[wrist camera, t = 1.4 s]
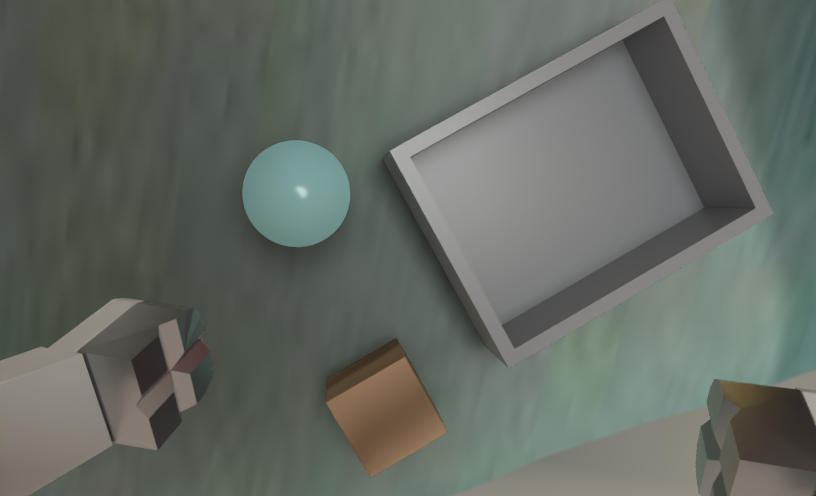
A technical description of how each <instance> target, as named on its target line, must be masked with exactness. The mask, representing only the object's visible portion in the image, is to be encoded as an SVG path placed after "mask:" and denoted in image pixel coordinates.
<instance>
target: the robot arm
mask: <svg viewBox="0 0 816 496" xmlns="http://www.w3.org/2000/svg"><path fill="white" fill-rule="evenodd" d="M205 331H206V329H205V325H204V321H203V317H202V314H201V313H200V312H198V311H197V310H195V309H194V308H188V307H181V306H175V305H169V304H162V303H156V302H150V301H142V300H135V299H128V298H118V299H112V300H111V301H110V302H108V303H107V304H106V305H104V306H103V307H102V308H100V309H99V310H98V311H96V312H95V313H94V314H92V315H91V316H90V317H88V318H87V319H86V320H84V321H83V322H82V323H81V324H79V325H78V326H77V327H75V328H74V329H73V330H71V331H70V332H69V333H67V334H66V335H65V336H63V337H62V338H61V339H59V340H58V341H57V342H55V343H54V344H53V345H51V346H50V347H49V348H45V347H39V348H36V349H33V350H30V351H27V352H24V353H21V354H18V355H15V356H12V357H10V358H7V359H4V360H1V361H0V496H29V495H30V494H32V493H34V492H35V491H37V490H39V489H40V488H42V487H44V486H45V485H47V484H49V483H50V482H52V481H54V480H55V479H57V478H59V477H60V476H62V475H64V474H65V473H67V472H69V471H71V470H72V469H74V468H76V467H77V466H79V465H81V464H82V463H84V462H86V461H87V460H89V459H91V458H92V457H94V456H96V455H97V454H99V453H101V452H102V451H104V450H106V449H107V448H109V447H111V446H112V445H113V443H117V444H123V445H129V446H135V447H141V448H147V449H153V450H158V449H159V448H160V447H161V446H162V445H163V444H164V442H165V441H166V440H167V439H168V438H169V437H170V435H171V434H172V433H173V432H174V431H175V430H176V428H177V427H178V426H179V425H180V424H181V422H182V413H181V412H182V411H184V410H186V409H188V408H190V407H192V406H194V405H196V404H197V403H198V402H199V401H200V400H201V398H202V397H203V396H204V395H205V393H206V392H207V390H208V387H209V384H210V382H211V379H212V375H213V361H212V356H211V351H210V350H209V349H208V348H207V346H206V345H205V344H204V343H203V342H202V341H201V338H202V336H203V334H204V332H205ZM707 405H708V410H709V415H710V420H709V421H708V422H706V423H705V424H703V425H702V426H701V428H700V433H699V438H698V443H697V453H696V477H697V485H698V491H699V494H700V495H701V496H816V390H810V389H800V388H795V389H790V388H781V387H774V386H767V385H759V384H751V383H743V382H735V381H727V380H720V379H714V381H713V383H712V385H711V387H710V391H709V395H708V399H707Z"/></svg>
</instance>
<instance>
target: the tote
mask: <svg viewBox="0 0 816 496" xmlns="http://www.w3.org/2000/svg"><path fill="white" fill-rule="evenodd" d="M382 159H383V161H384V163H385V164H386V166H387V168H388V170H389V172H390V174H391V175H392V177H393V179H394V181H395V183H396V184H397V186H398V188H399V190H400V192H401V194H402V195H403V197H404V199H405V201H406V203H407V204H408V206H409V208H410V210H411V212H412V214H413V215H414V217H415V219H416V221H417V223H418V224H419V226H420V228H421V230H422V232H423V234H424V235H425V237H426V239H427V241H428V243H429V244H430V246H431V248H432V250H433V252H434V254H435V255H436V257H437V259H438V261H439V263H440V264H441V266H442V268H443V270H444V272H445V274H446V275H447V277H448V279H449V281H450V283H451V284H452V286H453V288H454V290H455V292H456V294H457V295H458V297H459V299H460V301H461V303H462V304H463V306H464V308H465V310H466V312H467V314H468V315H469V317H470V319H471V321H472V323H473V324H474V326H475V328H476V330H477V332H478V334H479V335H480V337H481V339H482V341H483V343H484V344H485V346H486V347H487V348H488V349H489V350H490V351H491V352H492V353H493V354H494V355H495V356H496V357H497V358H498V359H500V360H501V361H502V362H503V363H504V364H505V365H506V366H507V367H508V368H511V367H512V366H514V365H516V364H517V363H519V362H521V361H523V360H524V359H526V358H528V357H529V356H531V355H533V354H534V353H536V352H538V351H540V350H541V349H543V348H545V347H546V346H548V345H550V344H552V343H553V342H555V341H557V340H558V339H560V338H562V337H564V336H565V335H567V334H569V333H570V332H572V331H574V330H575V329H577V328H579V327H581V326H582V325H584V324H586V323H587V322H589V321H591V320H593V319H594V318H596V317H598V316H599V315H601V314H603V313H605V312H606V311H608V310H610V309H611V308H613V307H615V306H616V305H618V304H620V303H622V302H623V301H625V300H627V299H628V298H630V297H632V296H634V295H635V294H637V293H639V292H640V291H642V290H644V289H646V288H647V287H649V286H651V285H652V284H654V283H656V282H657V281H659V280H661V279H663V278H664V277H666V276H668V275H669V274H671V273H673V272H675V271H676V270H678V269H680V268H681V267H683V266H685V265H687V264H688V263H690V262H692V261H693V260H695V259H697V258H698V257H700V256H702V255H704V254H705V253H707V252H709V251H710V250H712V249H714V248H716V247H717V246H719V245H721V244H722V243H724V242H726V241H727V240H729V239H731V238H733V237H734V236H736V235H738V234H739V233H741V232H743V231H745V230H746V229H748V228H750V227H751V226H753V225H755V224H757V223H758V222H760V221H762V220H763V219H765V218H767V217H768V216H770V215H772V214H773V212H772V210H771V207H770V205H769V203H768V201H767V199H766V197H765V195H764V193H763V191H762V189H761V186H760V184H759V182H758V180H757V178H756V176H755V174H754V172H753V170H752V167H751V165H750V163H749V161H748V159H747V157H746V155H745V153H744V151H743V149H742V146H741V144H740V142H739V140H738V138H737V136H736V134H735V132H734V130H733V127H732V125H731V123H730V121H729V119H728V117H727V115H726V113H725V111H724V109H723V106H722V104H721V102H720V100H719V98H718V96H717V94H716V92H715V90H714V87H713V85H712V83H711V81H710V79H709V77H708V75H707V73H706V71H705V69H704V66H703V64H702V62H701V60H700V58H699V56H698V54H697V52H696V50H695V47H694V45H693V43H692V41H691V39H690V37H689V35H688V33H687V31H686V29H685V26H684V24H683V22H682V20H681V18H680V16H679V14H678V12H677V10H676V7H675V5H674V3H673V1H672V0H662V1H660V2H658V3H656V4H654V5H653V6H651V7H649V8H647V9H645V10H644V11H642V12H640V13H638V14H636V15H635V16H633V17H631V18H629V19H627V20H625V21H624V22H622V23H620V24H618V25H616V26H615V27H613V28H611V29H609V30H607V31H606V32H604V33H602V34H600V35H598V36H597V37H595V38H593V39H591V40H589V41H587V42H586V43H584V44H582V45H580V46H578V47H577V48H575V49H573V50H571V51H569V52H568V53H566V54H564V55H562V56H560V57H558V58H557V59H555V60H553V61H551V62H549V63H548V64H546V65H544V66H542V67H540V68H539V69H537V70H535V71H533V72H531V73H529V74H528V75H526V76H524V77H522V78H520V79H519V80H517V81H515V82H513V83H511V84H510V85H508V86H506V87H504V88H502V89H500V90H499V91H497V92H495V93H493V94H491V95H490V96H488V97H486V98H484V99H482V100H481V101H479V102H477V103H475V104H473V105H472V106H470V107H468V108H466V109H464V110H462V111H461V112H459V113H457V114H455V115H453V116H452V117H450V118H448V119H446V120H444V121H443V122H441V123H439V124H437V125H435V126H433V127H432V128H430V129H428V130H426V131H424V132H423V133H421V134H419V135H417V136H415V137H414V138H412V139H410V140H408V141H406V142H404V143H403V144H401V145H399V146H397V147H395V148H394V149H392V150H390V151H389V152H388V153H387V154H386V155H385V156H384V157H383V158H382Z"/></svg>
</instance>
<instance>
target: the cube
mask: <svg viewBox="0 0 816 496" xmlns="http://www.w3.org/2000/svg"><path fill="white" fill-rule="evenodd" d="M326 404H327V406H328V407H329V409H330V411H331V412H332V414H333V416H334V417H335V419H336V421H337V422H338V424H339V426H340V427H341V429H342V431H343V432H344V434H345V436H346V438H347V439H348V441H349V443H350V444H351V446H352V448H353V449H354V451H355V453H356V454H357V456H358V458H359V459H360V461H361V463H362V464H363V466H364V468H365V470H366V471H367V473H368V475H369V476H370V478H371V477H373V476H375V475H376V474H378V473H380V472H382V471H383V470H385V469H387V468H388V467H390V466H392V465H393V464H395V463H397V462H398V461H400V460H402V459H403V458H405V457H407V456H409V455H410V454H412V453H414V452H415V451H417V450H419V449H420V448H422V447H424V446H425V445H427V444H429V443H430V442H432V441H434V440H436V439H437V438H439V437H441V436H442V435H444V434H446V433H447V432H448V431H447V429H446V427H445V425H444V423H443V421H442V419H441V417H440V415H439V413H438V411H437V409H436V407H435V405H434V403H433V401H432V399H431V398H430V396H429V394H428V392H427V391H426V389H425V387H424V385H423V384H422V382H421V380H420V378H419V377H418V375H417V373H416V371H415V370H414V368H413V366H412V364H411V363H410V361H409V359H408V357H407V356H406V354H405V352H404V350H403V349H402V347H401V345H400V343H399V342H398V340H397V338H396V339H395V340H393V341H391V342H389V343H388V344H386V345H384V346H383V347H381V348H379V349H377V350H376V351H374V352H372V353H370V354H369V355H367V356H365V357H363V358H362V359H360V360H358V361H357V362H355V363H353V364H351V365H350V366H348V367H346V368H344V369H343V370H341V371H339V372H338V373H336V374H334V375H332V376H331V377H329V378H327V393H326Z"/></svg>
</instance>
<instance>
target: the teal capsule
mask: <svg viewBox="0 0 816 496" xmlns="http://www.w3.org/2000/svg"><path fill="white" fill-rule="evenodd" d="M242 196H243V204H244V208H245V211H246V214H247V216H248V218H249V220H250V221H251V223H252V224H253V226H254V227H255V228H256V229H257V230H258V231H259V232H260V233H261V234H262V235H263V236H265V237H266V238H268V239H269V240H271V241H273V242H275V243H278V244H281V245H284V246H289V247H305V246H310V245H313V244H317V243H319V242H321V241H323V240H325V239H326V238H328V237H329V236H330V235H332V234H333V233H334V232H335V231H336V230H337V229H338V228H339V226H340V225H341V223H342V222H343V220H344V218H345V216H346V214H347V211H348V208H349V203H350V186H349V181H348V178H347V175H346V172H345V170H344V168H343V167H342V165H341V164H340V162H339V161H338V160H337V159H336V157H335V156H333V155H332V154H331V153H330V152H329V151H327V150H326V149H325V148H323V147H321V146H319V145H317V144H314V143H311V142H307V141H300V140H290V141H284V142H280V143H277V144H275V145H272V146H270V147H269V148H267V149H265V150H264V151H263V152H261V153H260V154H259V155H258V156H257V157H256V158H255V159H254V160H253V162H252V163H251V165H250V166H249V168H248V170H247V172H246V175H245V178H244V182H243V190H242Z"/></svg>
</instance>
